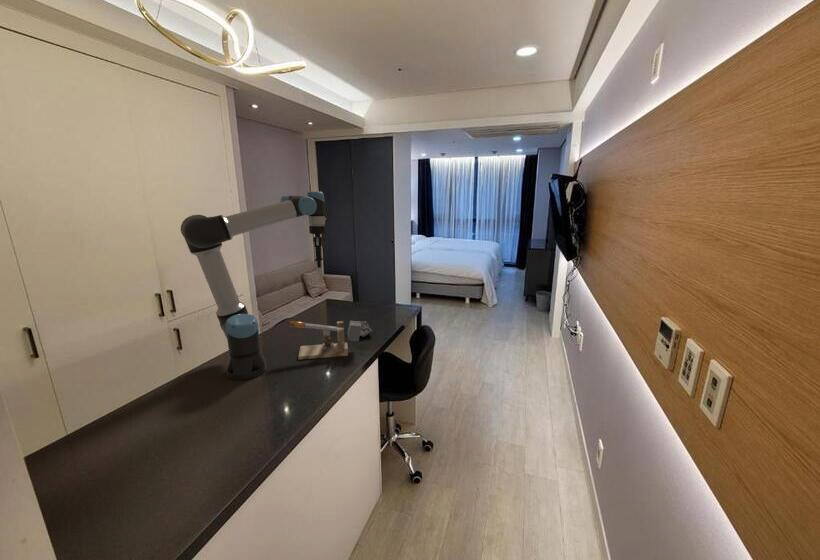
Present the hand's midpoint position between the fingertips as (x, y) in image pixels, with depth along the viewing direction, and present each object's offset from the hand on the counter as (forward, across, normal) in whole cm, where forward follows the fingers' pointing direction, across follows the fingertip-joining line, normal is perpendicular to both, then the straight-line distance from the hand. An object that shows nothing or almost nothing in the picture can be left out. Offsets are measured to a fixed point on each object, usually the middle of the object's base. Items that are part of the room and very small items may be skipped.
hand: (319, 273), depth 168 cm
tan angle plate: (+34, -16, -1) cm, 38 cm away
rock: (+35, +2, -20) cm, 40 cm away
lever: (+26, -16, -1) cm, 30 cm away
